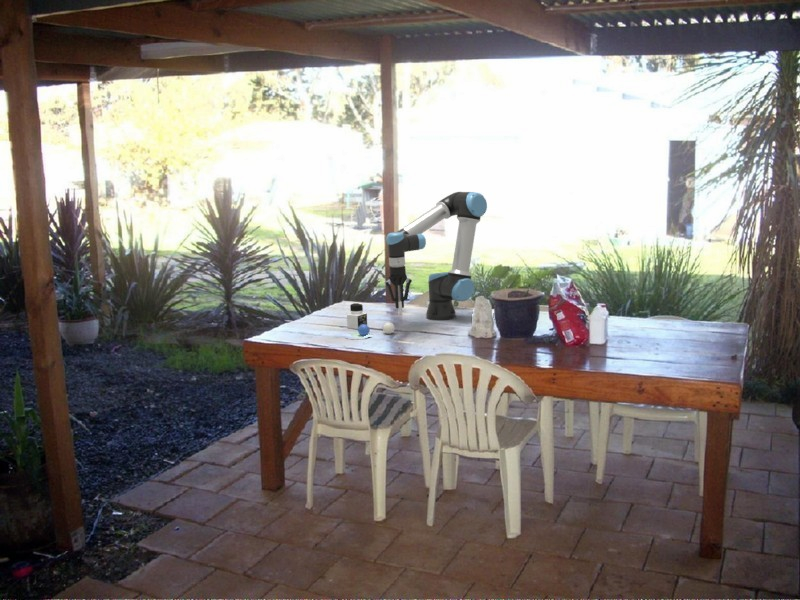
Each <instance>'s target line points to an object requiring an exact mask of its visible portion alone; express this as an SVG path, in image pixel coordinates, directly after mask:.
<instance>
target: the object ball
mask: <svg viewBox="0 0 800 600" xmlns="http://www.w3.org/2000/svg"><path fill="white" fill-rule="evenodd" d="M357 333H359V334H360V335H362V336H366V335H368V333H370V327H369V325H368V324H367V325H365V324H362V325H360V326H359V328H358V329H357Z"/></svg>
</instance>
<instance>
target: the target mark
mask: <svg viewBox="0 0 800 600" xmlns="http://www.w3.org/2000/svg"><path fill="white" fill-rule="evenodd" d="M370 333H371V332H369V335H370ZM349 334H351V336H352V337H354V338H356V337H357V336H358V337H357V338H359V339H360V338H361V339H362V338H363V337H364V336H362V335H360V334H359V333H358V332H351V333H349ZM362 340H363V339H362Z"/></svg>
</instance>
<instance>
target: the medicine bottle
mask: <svg viewBox="0 0 800 600" xmlns="http://www.w3.org/2000/svg"><path fill="white" fill-rule="evenodd" d="M349 307H350V312H349V313H347V314H346V318H347V319H346V321H347V323H346V324H347V329H350V330H351V329H352V330H358V328H359V326H360V325H362V324H365V325H367V326H368V314H367V312H364V307H363V303H359V302H355V303H351V304H350V306H349Z"/></svg>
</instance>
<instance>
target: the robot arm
mask: <svg viewBox="0 0 800 600" xmlns="http://www.w3.org/2000/svg"><path fill="white" fill-rule="evenodd" d="M487 210H488V203H487V199H486V198H485V197H484V195H483V194H482V193H480V192H475V191H456V192H453V193H451V194H449V195H447V196H446V197H443V198H442V199H440V200H438V202H437V203H436V205H435V206H434V207H432V208H431V209H430V210H428V211H426V212H425V213H423V214H421V215H420V216H418V217H417V218H416V219H414V220H413V221H411V222H409V223H408V224H407V225H405V226H404V227H402V228H401V229H399V230H398V231H395V232H393V231H392V232H390V233H388V234H387V235H386V238H385V243H386V245H387V251H388V266H389V277H388V279H387V280H385V281H384V284H385V285H386V287H387V290H388V293H389V297H390V300H391V301H393V302H395V309H397V315H398V317H399V316H403V308H405V301H407V300H408V298H409V291H410V287H411V283H412V282H413V281H412V279H411V278H409V277H408V276H407V274H406V273H407V272H406V256H405V255H406V254H405V253H406V252H414V251H420V250H423V249H425V247H426V245H427V240H426V237H425V235H424V234H423V233H425V232H426V231H427V230H429V229H431V228H432V227H434V226H436V225H437V224H439V222H441V221H443V220H447V219H449V218H451V217H454V216H456V219H457V220H458V229H457V234H456V240H455V241H456V242H455V246H454V247H455V248H454V253H453V258H452V259H453V261H452V267H451V269H450V270H449V271H446V272H435V273H430V274H429V275H428V297H429V298H428V302H429V304H428V306H427V309H426V315H425V316H426V318H427V319H428V320H432V321H434V320H435V321H445V320H446V321H447V320H452V319H455V318H456V317H457V311H456V310H455V309H456V308H455V306H454V304H453V301H455V302H466V301H469V299H470V298H471V297H472V296H473V294H474V291H475V284H474V282H473V280H472V274H471V273H470V269H471V268H470V266H471V261H472V255H473V249H474V241H475V234H476V228H477V224H478V223H479V222H480V221H481V217H483V216H484V215H485V214H486V212H487ZM391 283H392V285H393V290H394V294H393V290H392V286H391ZM404 284H405V289H404ZM399 299H400V300H399ZM454 317H455V318H454Z"/></svg>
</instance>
